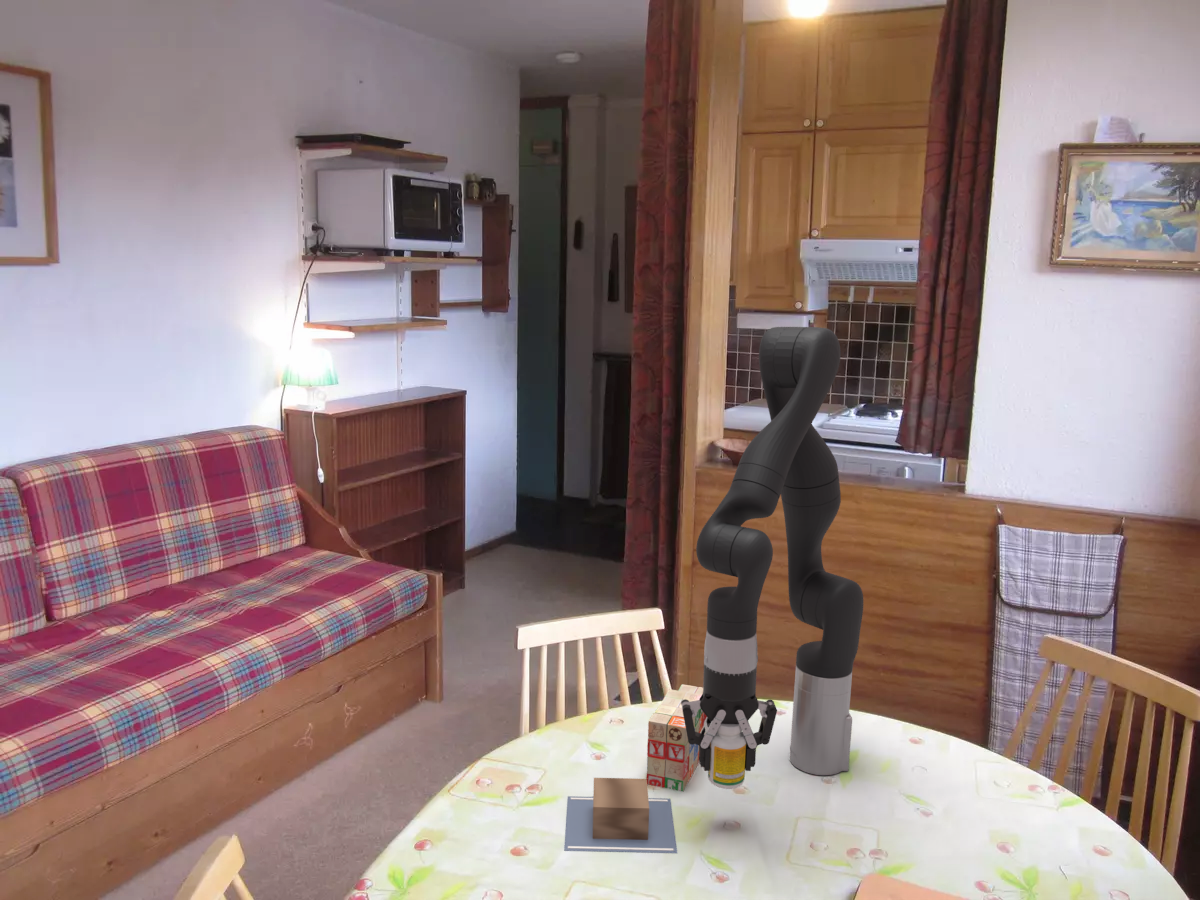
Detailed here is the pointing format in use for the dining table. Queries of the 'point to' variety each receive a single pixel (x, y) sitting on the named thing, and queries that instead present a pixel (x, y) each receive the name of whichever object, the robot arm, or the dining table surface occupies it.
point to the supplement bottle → (727, 757)
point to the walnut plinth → (620, 809)
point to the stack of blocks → (673, 741)
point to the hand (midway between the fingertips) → (726, 767)
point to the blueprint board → (582, 839)
